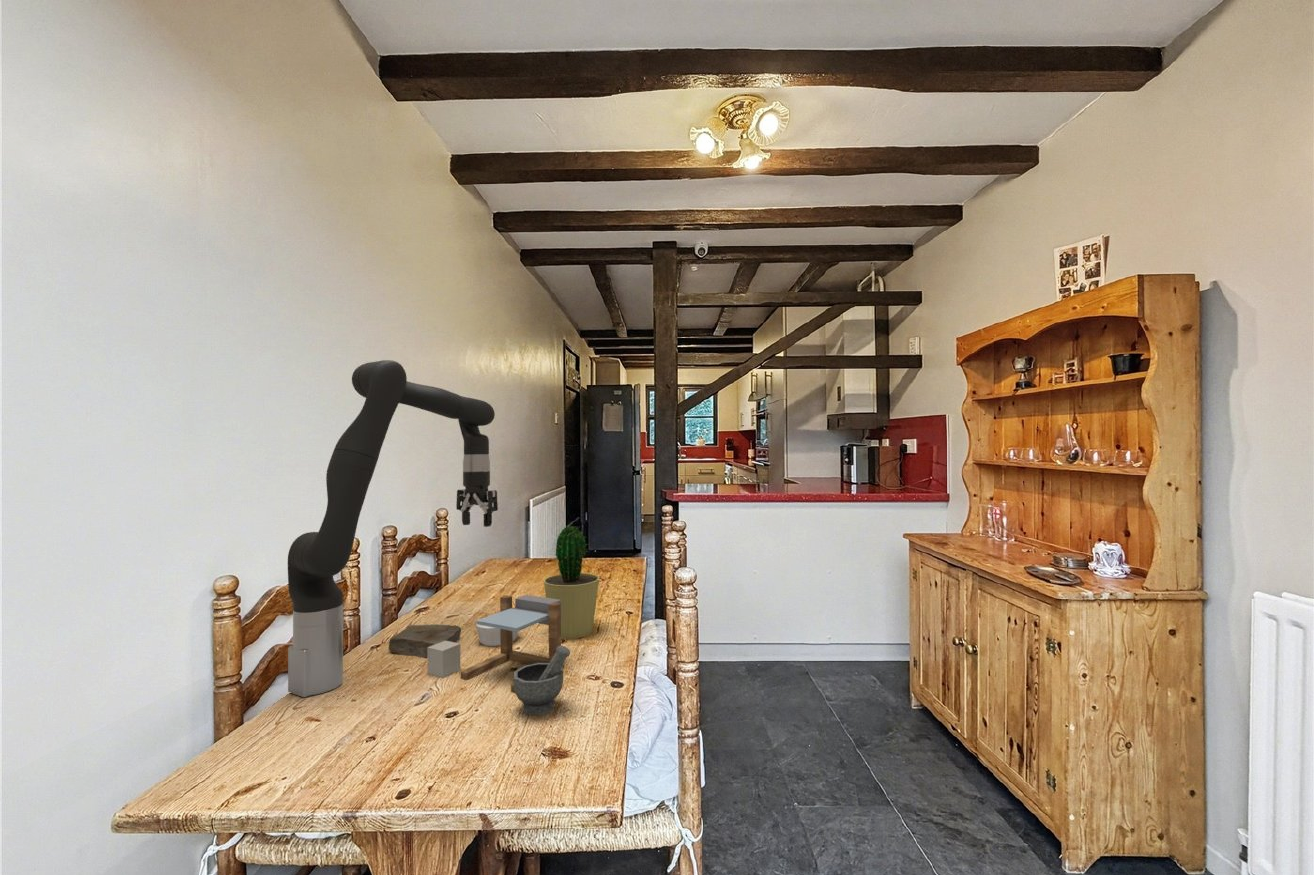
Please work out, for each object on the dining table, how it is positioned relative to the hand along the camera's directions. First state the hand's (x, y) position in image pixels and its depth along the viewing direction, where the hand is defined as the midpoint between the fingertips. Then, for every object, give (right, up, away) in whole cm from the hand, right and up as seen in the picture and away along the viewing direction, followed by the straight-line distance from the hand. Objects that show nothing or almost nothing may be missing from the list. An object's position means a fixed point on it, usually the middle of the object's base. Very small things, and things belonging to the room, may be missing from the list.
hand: (476, 525), depth 157 cm
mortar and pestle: (+30, -27, -52) cm, 66 cm away
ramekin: (+10, -29, -13) cm, 33 cm away
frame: (+20, -28, -35) cm, 49 cm away
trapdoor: (+21, -18, -32) cm, 42 cm away
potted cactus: (+29, -29, -7) cm, 41 cm away
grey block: (+4, -28, -33) cm, 44 cm away
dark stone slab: (-8, -29, -17) cm, 35 cm away
